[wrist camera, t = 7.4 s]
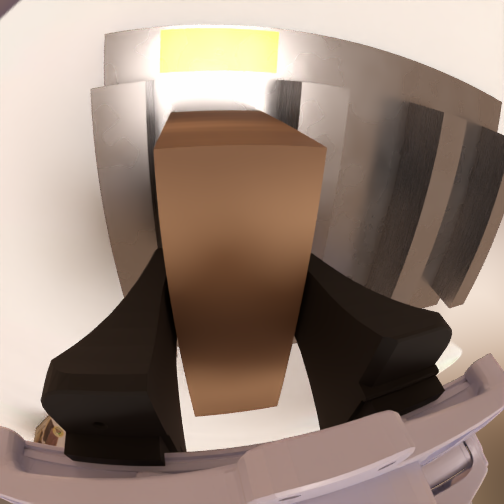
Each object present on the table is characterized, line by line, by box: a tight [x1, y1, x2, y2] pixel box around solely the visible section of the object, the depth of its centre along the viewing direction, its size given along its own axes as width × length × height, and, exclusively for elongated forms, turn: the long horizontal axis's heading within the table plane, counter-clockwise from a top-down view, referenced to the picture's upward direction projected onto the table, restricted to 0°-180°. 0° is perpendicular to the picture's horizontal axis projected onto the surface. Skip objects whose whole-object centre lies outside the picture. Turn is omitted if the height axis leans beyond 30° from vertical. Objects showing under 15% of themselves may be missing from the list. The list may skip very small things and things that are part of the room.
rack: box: [91, 25, 504, 357], centre depth 16 cm, size 19×25×3 cm
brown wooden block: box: [153, 110, 327, 417], centre depth 13 cm, size 12×4×7 cm, turn 177°
